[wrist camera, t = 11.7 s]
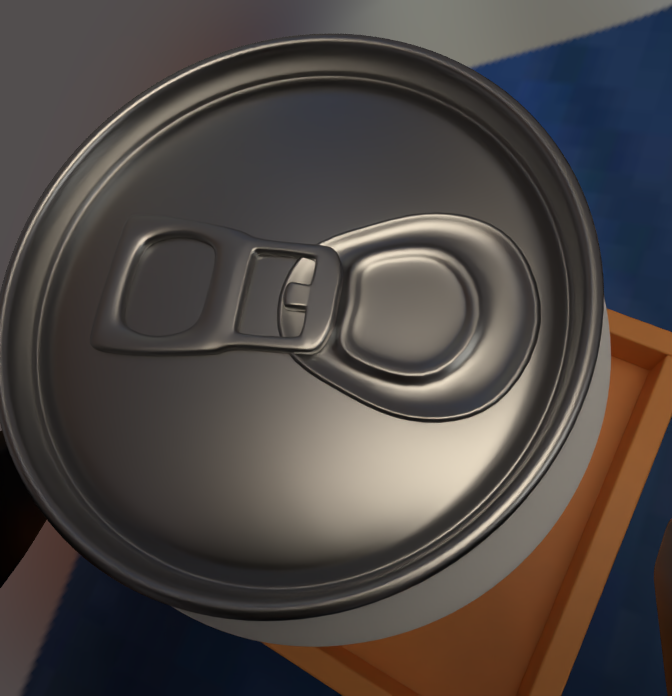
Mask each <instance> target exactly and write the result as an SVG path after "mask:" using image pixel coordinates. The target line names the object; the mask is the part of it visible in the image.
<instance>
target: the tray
mask: <svg viewBox="0 0 672 696" xmlns="http://www.w3.org/2000/svg"><path fill="white" fill-rule="evenodd" d="M606 309H607V308H606ZM607 315H608V322H609V330H610V343H611V371H610V384H609V392H608V399H607V404H606V410H605V415H604V419H603V423H602V427H601V431H600V434H599V437H598V440H597V444H596V446H595V449H594V452H593V455H592V457H591V460H590V462H589V464H588V467H587V469H586V471H585V474H584V476H583V478H582V480H581V482H580V484H579V486H578V488H577V490H576V491H575V493H574V495H573V497H572V498H571V500H570V502H569V504H568V505H567V507H566V508H565V510H564V512H563V513H562V515H561V516H560V518H559V519H558V521H557V522H556V523H555V525H554V526H553V528H552V529H551V530H550V532H549V533H548V534H547V535H546V537H545V538H544V539H543V540H542V542H541V543H540V544H539V545H538V546H537V547H536V548H535V549H534V551H533V552H532V553H531V554H530V555H529V556H528V557H527V558H526V559H525V560H524V561H523V562H522V563H521V564H520V565H519V566H518V567H517V568H516V569H514V570H513V571H512V572H511V573H510V574H509V575H508V576H507V577H505V578H504V579H503V580H502V581H500V582H499V583H498V584H497V585H495V586H494V587H493V588H491V589H490V590H489V591H487V592H486V593H484V594H483V595H482V596H480V597H478V598H477V599H475V600H474V601H472V602H471V603H469V604H467V605H466V606H464V607H462V608H460V609H459V610H457V611H455V612H453V613H451V614H449V615H447V616H445V617H443V618H441V619H439V620H437V621H434V622H432V623H430V624H427V625H425V626H422V627H420V628H417V629H414V630H411V631H408V632H405V633H402V634H398V635H395V636H391V637H387V638H383V639H379V640H374V641H368V642H363V643H356V644H349V645H339V646H322V647H306V646H289V645H279V644H272V643H266V642H262V643H263V644H265V645H266V646H268V647H269V648H271V649H272V650H274V651H275V652H277V653H278V654H280V655H281V656H283V657H284V658H286V659H287V660H289V661H291V662H292V663H294V664H295V665H297V666H298V667H300V668H301V669H303V670H304V671H306V672H307V673H309V674H310V675H312V676H313V677H315V678H316V679H318V680H319V681H321V682H323V683H324V684H326V685H327V686H329V687H330V688H332V689H333V690H335V691H336V692H338V693H339V694H341V695H342V696H561V695H562V692H563V690H564V687H565V685H566V682H567V680H568V677H569V675H570V672H571V669H572V667H573V664H574V662H575V659H576V657H577V654H578V652H579V649H580V647H581V644H582V642H583V639H584V637H585V634H586V631H587V629H588V626H589V624H590V621H591V619H592V616H593V614H594V611H595V609H596V606H597V604H598V601H599V599H600V596H601V594H602V591H603V588H604V586H605V583H606V581H607V578H608V576H609V573H610V571H611V568H612V566H613V563H614V561H615V558H616V556H617V553H618V550H619V548H620V545H621V543H622V540H623V538H624V535H625V533H626V530H627V528H628V525H629V523H630V520H631V518H632V515H633V512H634V510H635V507H636V505H637V502H638V500H639V497H640V495H641V492H642V490H643V487H644V485H645V482H646V480H647V477H648V474H649V472H650V469H651V467H652V464H653V462H654V459H655V457H656V454H657V452H658V449H659V447H660V444H661V442H662V439H663V436H664V434H665V431H666V429H667V426H668V424H669V421H670V419H671V416H672V332H669V331H667V330H664V329H661V328H658V327H656V326H653V325H650V324H648V323H645V322H642V321H639V320H637V319H634V318H631V317H628V316H626V315H623V314H620V313H618V312H615V311H612V310H609V309H607ZM260 642H261V641H260Z"/></svg>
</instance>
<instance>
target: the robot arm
mask: <svg viewBox="0 0 672 696" xmlns="http://www.w3.org/2000/svg"><path fill="white" fill-rule="evenodd" d="M46 520H47V519H46V517H45V516H44V515H43V513H42V512H41V511H40V509H39V508H38V506H37V505H36V503H35V502H34V500H33V499H32V497H31V495H30V494H29V492H28V491H27V489H26V487H25V485H24V483H23V481H22V480H21V478H20V476H19V474H18V471H17V469H16V467H15V465H14V463H13V460H12V458H11V455H10V453H9V450H8V447H7V444H6V441H5V438H4V435H3V431H0V588H1V587H2V585H3V584H4V583H5V581H6V580H7V579H8V577H9V576H10V574H11V573H12V572H13V571H14V569H15V568H16V566H17V565H18V564H19V562H20V561H21V559H22V558H23V557H24V555H25V553H26V552H27V551H28V549H29V547H30V546H31V544H32V543H33V541H34V540H35V538H36V536H37V535H38V533H39V531H40V530H41V528H42V526H43V525H44V523H45V522H46ZM654 584H655V593H656V602H657V610H658V619H659V627H660V636H661V645H662V653H663V662H664V670H665V679H666V686H667V693H668V696H672V519H671V520H670V521H669V523H668V525H667V527H666V530H665V534H664V537H663V540H662V543H661V546H660V550H659V553H658V556H657V559H656V563H655V568H654Z"/></svg>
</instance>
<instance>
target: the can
mask: <svg viewBox="0 0 672 696" xmlns="http://www.w3.org/2000/svg"><path fill="white" fill-rule="evenodd" d="M610 371H611V343H610V330H609V322H608V315H607V309H606V304H605V299H604V282H603V269H602V260H601V254H600V247H599V242H598V238H597V233H596V229H595V225H594V222H593V218H592V215H591V212H590V209H589V206H588V203H587V201H586V198H585V196H584V193H583V191H582V189H581V187H580V184H579V182H578V180H577V178H576V176H575V174H574V172H573V171H572V169H571V167H570V165H569V163H568V162H567V160H566V158H565V157H564V155H563V154H562V152H561V151H560V149H559V148H558V146H557V145H556V143H555V142H554V141H553V139H552V138H551V137H550V136H549V134H548V133H547V132H546V130H545V129H544V128H543V127H542V126H541V125H540V123H539V122H538V121H537V120H536V119H535V118H534V117H533V116H532V115H531V114H530V113H529V112H528V111H527V110H526V109H525V108H524V107H523V106H522V105H521V104H520V103H519V102H518V101H516V100H515V99H514V98H513V97H512V96H510V95H509V94H508V93H507V92H506V91H504V90H503V89H502V88H500V87H499V86H498V85H496V84H495V83H493V82H492V81H490V80H489V79H487V78H486V77H484V76H482V75H481V74H479V73H477V72H476V71H474V70H472V69H470V68H469V67H467V66H465V65H463V64H461V63H459V62H457V61H455V60H452V59H450V58H448V57H446V56H443V55H441V54H438V53H436V52H433V51H430V50H427V49H424V48H421V47H418V46H415V45H411V44H407V43H403V42H399V41H394V40H390V39H385V38H379V37H371V36H364V35H352V34H310V35H298V36H289V37H282V38H276V39H271V40H266V41H261V42H257V43H252V44H249V45H245V46H241V47H238V48H234V49H231V50H228V51H225V52H222V53H220V54H217V55H214V56H211V57H209V58H206V59H204V60H201V61H199V62H197V63H195V64H192V65H190V66H188V67H186V68H184V69H182V70H180V71H178V72H176V73H174V74H172V75H170V76H168V77H167V78H165V79H163V80H161V81H160V82H158V83H156V84H155V85H153V86H151V87H150V88H148V89H147V90H145V91H144V92H142V93H141V94H140V95H138V96H136V97H135V98H133V99H132V100H131V101H129V102H128V103H127V104H125V105H124V106H123V107H122V108H120V109H119V110H118V111H116V112H115V113H114V114H113V115H112V116H110V117H109V118H108V119H107V120H106V121H105V122H103V123H102V124H101V125H100V126H99V127H98V128H97V129H96V130H95V131H94V132H93V133H92V134H91V135H90V136H89V137H88V138H87V139H86V140H85V141H84V142H83V143H82V144H81V145H80V146H79V147H78V148H77V149H76V151H75V152H74V153H73V154H72V155H71V156H70V157H69V159H68V160H67V161H66V162H65V163H64V165H63V166H62V167H61V169H60V170H59V171H58V173H57V174H56V175H55V176H54V178H53V179H52V181H51V182H50V183H49V185H48V186H47V188H46V189H45V191H44V192H43V194H42V196H41V197H40V199H39V200H38V202H37V204H36V205H35V207H34V209H33V211H32V213H31V215H30V216H29V218H28V220H27V222H26V224H25V226H24V228H23V230H22V232H21V234H20V237H19V239H18V241H17V243H16V246H15V249H14V251H13V254H12V256H11V259H10V262H9V265H8V268H7V270H6V274H5V277H4V281H3V284H2V289H1V293H0V424H1V428H2V431H3V435H4V438H5V441H6V444H7V447H8V450H9V453H10V455H11V458H12V460H13V463H14V465H15V467H16V469H17V471H18V474H19V476H20V478H21V480H22V481H23V483H24V485H25V487H26V489H27V491H28V492H29V494H30V495H31V497H32V499H33V500H34V502H35V503H36V505H37V506H38V508H39V509H40V511H41V512H42V513H43V515H44V516H45V517H46V519H47V520H48V521H49V522H50V523H51V525H52V526H53V527H54V528H55V530H56V531H57V532H58V533H59V534H60V535H61V536H62V537H63V538H64V539H65V540H66V541H67V542H68V543H69V544H70V545H71V546H72V547H73V548H74V549H75V550H76V551H77V552H78V553H79V554H80V555H82V556H83V557H84V558H85V559H86V560H88V561H89V562H90V563H91V564H93V565H94V566H95V567H97V568H98V569H99V570H101V571H102V572H104V573H105V574H107V575H108V576H110V577H111V578H113V579H114V580H116V581H118V582H119V583H121V584H123V585H125V586H127V587H128V588H130V589H132V590H134V591H136V592H138V593H140V594H142V595H145V596H147V597H149V598H151V599H154V600H156V601H159V602H161V603H164V604H167V605H170V606H172V607H173V608H175V609H177V610H178V611H180V612H182V613H183V614H185V615H187V616H189V617H191V618H193V619H195V620H197V621H199V622H201V623H204V624H206V625H208V626H211V627H213V628H216V629H218V630H221V631H224V632H227V633H230V634H233V635H236V636H240V637H243V638H247V639H251V640H256V641H261V642H266V643H272V644H279V645H289V646H306V647H322V646H339V645H349V644H356V643H363V642H368V641H374V640H379V639H383V638H387V637H391V636H395V635H398V634H402V633H405V632H408V631H411V630H414V629H417V628H420V627H422V626H425V625H427V624H430V623H432V622H434V621H437V620H439V619H441V618H443V617H445V616H447V615H449V614H451V613H453V612H455V611H457V610H459V609H460V608H462V607H464V606H466V605H467V604H469V603H471V602H472V601H474V600H475V599H477V598H478V597H480V596H482V595H483V594H484V593H486V592H487V591H489V590H490V589H491V588H493V587H494V586H495V585H497V584H498V583H499V582H500V581H502V580H503V579H504V578H505V577H507V576H508V575H509V574H510V573H511V572H512V571H513V570H514V569H516V568H517V567H518V566H519V565H520V564H521V563H522V562H523V561H524V560H525V559H526V558H527V557H528V556H529V555H530V554H531V553H532V552H533V551H534V549H535V548H536V547H537V546H538V545H539V544H540V543H541V542H542V540H543V539H544V538H545V537H546V535H547V534H548V533H549V532H550V530H551V529H552V528H553V526H554V525H555V523H556V522H557V521H558V519H559V518H560V516H561V515H562V513H563V512H564V510H565V508H566V507H567V505H568V504H569V502H570V500H571V498H572V497H573V495H574V493H575V491H576V490H577V488H578V486H579V484H580V482H581V480H582V478H583V476H584V474H585V471H586V469H587V467H588V464H589V462H590V460H591V457H592V455H593V452H594V449H595V446H596V444H597V440H598V437H599V434H600V431H601V427H602V423H603V419H604V415H605V410H606V404H607V399H608V392H609V384H610Z"/></svg>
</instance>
